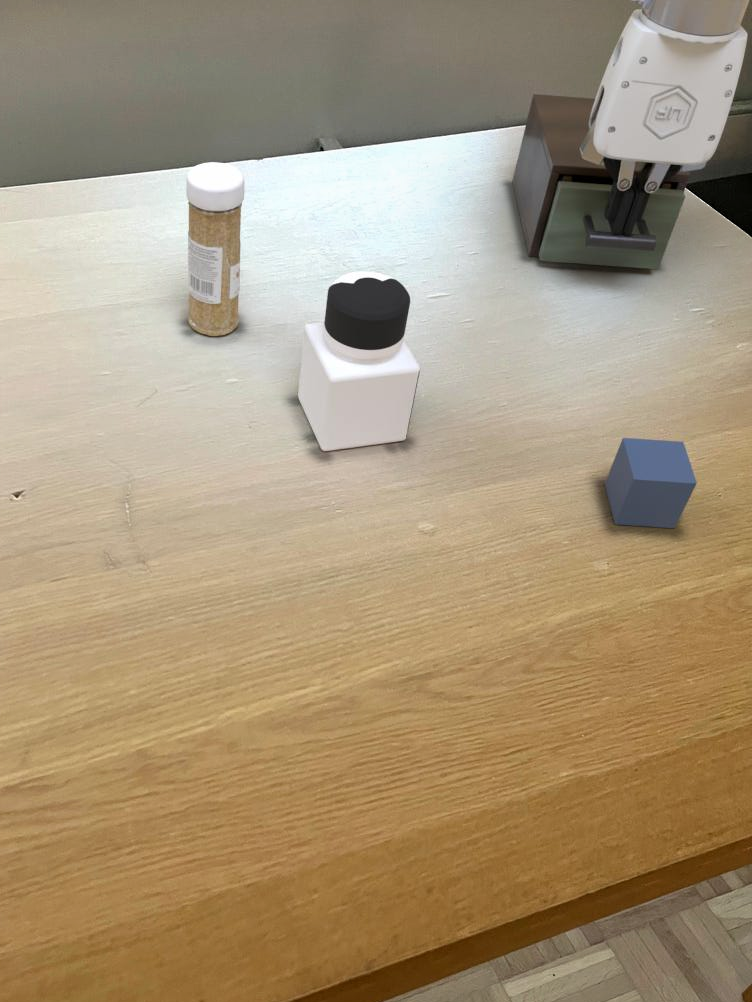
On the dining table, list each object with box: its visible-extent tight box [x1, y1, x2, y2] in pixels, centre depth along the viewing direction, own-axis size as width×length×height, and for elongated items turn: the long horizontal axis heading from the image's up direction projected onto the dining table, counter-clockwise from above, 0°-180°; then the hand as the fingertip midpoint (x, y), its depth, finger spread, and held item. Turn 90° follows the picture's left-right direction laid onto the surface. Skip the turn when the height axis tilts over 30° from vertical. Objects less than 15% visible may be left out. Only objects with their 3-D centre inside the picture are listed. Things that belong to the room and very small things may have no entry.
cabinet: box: [511, 93, 691, 258], centre depth 104 cm, size 15×13×9 cm
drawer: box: [538, 174, 686, 270], centre depth 101 cm, size 18×11×7 cm, turn 178°
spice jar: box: [185, 161, 245, 337], centre depth 87 cm, size 5×5×14 cm
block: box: [604, 437, 698, 529], centre depth 79 cm, size 5×5×5 cm
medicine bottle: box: [297, 270, 421, 452], centre depth 81 cm, size 7×7×12 cm
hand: (618, 226), depth 95 cm, fingers closed
